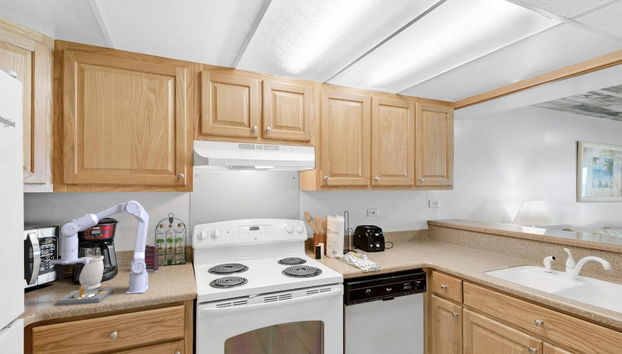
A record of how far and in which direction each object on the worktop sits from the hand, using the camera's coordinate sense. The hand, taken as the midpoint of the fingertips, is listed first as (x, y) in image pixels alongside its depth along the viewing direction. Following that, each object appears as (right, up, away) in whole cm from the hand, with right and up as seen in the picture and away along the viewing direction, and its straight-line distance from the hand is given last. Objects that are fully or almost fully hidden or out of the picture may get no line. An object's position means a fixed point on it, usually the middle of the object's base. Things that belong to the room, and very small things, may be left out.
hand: (69, 280), depth 132 cm
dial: (+5, -8, +4) cm, 10 cm away
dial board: (+5, -10, +4) cm, 11 cm away
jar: (-4, -10, +19) cm, 22 cm away
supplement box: (+11, -11, +46) cm, 49 cm away
